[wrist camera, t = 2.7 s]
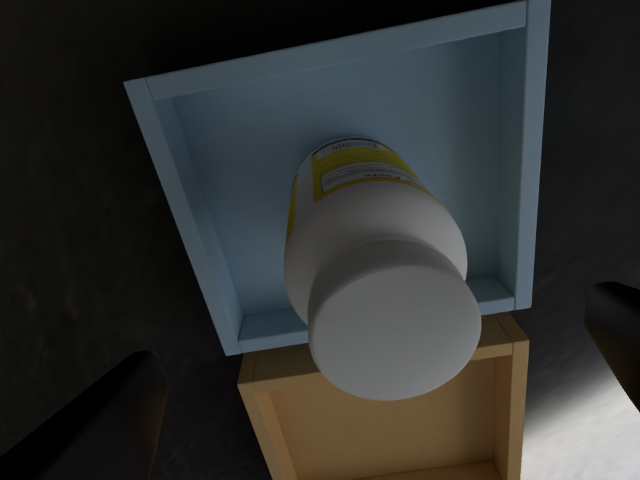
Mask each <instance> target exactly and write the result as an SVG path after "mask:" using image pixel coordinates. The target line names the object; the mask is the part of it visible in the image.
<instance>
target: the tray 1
mask: <svg viewBox="0 0 640 480" xmlns="http://www.w3.org/2000/svg"><path fill="white" fill-rule="evenodd" d="M550 8H551V0H520V1H515V2H510V3H505V4H500V5H496V6H491V7H486V8H481V9H476V10H471V11H466V12H461V13H456V14H452V15H447V16H442V17H437V18H432V19H427V20H422V21H417V22H412V23H408V24H403V25H398V26H393V27H388V28H383V29H378V30H373V31H369V32H364V33H359V34H354V35H349V36H344V37H339V38H334V39H329V40H325V41H320V42H315V43H310V44H305V45H300V46H295V47H290V48H286V49H281V50H276V51H271V52H266V53H261V54H256V55H251V56H246V57H242V58H237V59H232V60H227V61H222V62H217V63H212V64H207V65H203V66H198V67H193V68H188V69H183V70H178V71H173V72H168V73H163V74H159V75H154V76H149V77H144V78H139V79H134V80H129V81H124V82H123V84H124V86H125V89H126V92H127V94H128V97H129V100H130V102H131V105H132V108H133V110H134V113H135V116H136V118H137V121H138V123H139V126H140V129H141V131H142V134H143V137H144V139H145V142H146V145H147V147H148V150H149V153H150V155H151V158H152V161H153V163H154V166H155V169H156V171H157V174H158V177H159V179H160V182H161V185H162V187H163V190H164V193H165V195H166V198H167V201H168V203H169V206H170V209H171V211H172V214H173V216H174V219H175V222H176V224H177V227H178V230H179V232H180V235H181V238H182V240H183V243H184V246H185V248H186V251H187V254H188V256H189V259H190V262H191V264H192V267H193V270H194V272H195V275H196V278H197V280H198V283H199V286H200V288H201V291H202V294H203V296H204V299H205V301H206V304H207V307H208V309H209V312H210V315H211V317H212V320H213V323H214V325H215V328H216V331H217V333H218V336H219V339H220V341H221V344H222V347H223V349H224V352H225V355H226V356H229V355H235V354H241V353H246V352H252V351H259V350H265V349H271V348H278V347H284V346H290V345H297V344H303V343H309V340H308V325H307V324H306V323H305V322H304V321H303V320H302V319H301V318H300V317H299V315H298V314H297V313H296V311H295V309H294V308H293V306H292V304H291V302H290V299H289V297H288V294H287V291H286V287H285V281H284V252H285V243H286V234H287V223H288V213H289V204H290V194H291V188H292V184H293V180H294V177H295V175H296V173H297V171H298V169H299V167H300V165H301V164H302V163H303V161H304V160H305V159H306V158H307V157H308V156H309V155H310V154H311V153H312V152H313V151H314V150H315V149H317V148H318V147H320V146H321V145H323V144H325V143H327V142H329V141H332V140H335V139H339V138H343V137H352V136H355V137H365V138H370V139H373V140H376V141H379V142H381V143H383V144H385V145H386V146H388V147H389V148H391V149H392V150H393V151H394V152H396V153H397V154H398V155H399V156H400V157H401V158H402V159H403V160H404V161H405V163H406V164H407V165H408V166H409V167H410V168H411V169H412V171H413V172H414V173H415V174H416V175H417V176H418V177H419V179H420V180H421V181H422V182H423V183H424V184H425V186H426V187H427V188H428V189H429V190H430V191H431V192H432V194H433V195H434V196H435V197H436V198H437V199H438V200H439V201H440V203H441V204H442V205H443V206H444V207H445V209H446V210H447V211H448V212H449V214H450V215H451V217H452V218H453V220H454V221H455V223H456V224H457V226H458V228H459V230H460V232H461V234H462V237H463V240H464V243H465V246H466V253H467V273H466V279H465V282H466V284H467V286H468V287H469V289H470V290H471V292H472V294H473V296H474V297H475V299H476V301H477V304H478V306H479V310H480V314H481V315H487V314H494V313H500V312H506V311H512V310H513V309H514V310H519V309H525V308H530V307H531V300H532V284H533V269H534V254H535V238H536V223H537V208H538V192H539V177H540V162H541V146H542V131H543V115H544V100H545V85H546V69H547V54H548V39H549V23H550Z"/></svg>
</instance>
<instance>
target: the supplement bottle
mask: <svg viewBox="0 0 640 480" xmlns="http://www.w3.org/2000/svg"><path fill="white" fill-rule="evenodd" d="M466 273H467V253H466V246H465V243H464V240H463V237H462V234H461V232H460V230H459V228H458V226H457V224H456V223H455V221H454V220H453V218H452V217H451V215H450V214H449V212H448V211H447V210H446V209H445V207H444V206H443V205H442V204H441V203H440V201H439V200H438V199H437V198H436V197H435V196H434V195H433V194H432V192H431V191H430V190H429V189H428V188H427V187H426V186H425V184H424V183H423V182H422V181H421V180H420V179H419V177H418V176H417V175H416V174H415V173H414V172H413V171H412V169H411V168H410V167H409V166H408V165H407V164H406V163H405V161H404V160H403V159H402V158H401V157H400V156H399V155H398V154H397V153H396V152H394V151H393V150H392V149H391V148H389V147H388V146H386V145H385V144H383V143H381V142H379V141H376V140H373V139H370V138H365V137H355V136H352V137H343V138H339V139H335V140H332V141H329V142H327V143H325V144H323V145H321V146H320V147H318V148H317V149H315V150H314V151H313V152H312V153H311V154H310V155H309V156H308V157H307V158H306V159H305V160H304V161H303V163H302V164H301V165H300V167H299V169H298V171H297V173H296V175H295V177H294V180H293V184H292V188H291V194H290V204H289V213H288V223H287V234H286V243H285V252H284V281H285V287H286V291H287V294H288V297H289V299H290V302H291V304H292V306H293V308H294V309H295V311H296V313H297V314H298V315H299V317H300V318H301V319H302V320H303V321H304V322H305V323H306V324H307V325H308V340H309V348H310V352H311V355H312V358H313V360H314V363H315V364H316V366H317V368H318V369H319V371H320V372H321V373H322V374H323V375H324V377H325V378H326V379H328V380H329V381H330V382H331V383H332V384H333V385H334V386H336V387H338V388H339V389H341V390H343V391H345V392H347V393H349V394H352V395H355V396H358V397H361V398H365V399H371V400H380V401H391V400H401V399H407V398H411V397H415V396H419V395H422V394H425V393H427V392H430V391H432V390H434V389H436V388H438V387H440V386H441V385H443V384H444V383H446V382H448V381H449V380H450V379H452V378H453V377H454V376H456V375H457V374H458V373H459V372H460V371H461V370H462V369H463V368H464V367H465V365H466V364H467V363H468V361H469V360H470V358H471V357H472V355H473V353H474V351H475V349H476V347H477V345H478V342H479V339H480V334H481V314H480V310H479V306H478V304H477V301H476V299H475V297H474V296H473V294H472V292H471V290H470V289H469V287H468V286H467V284H466V282H465V279H466Z"/></svg>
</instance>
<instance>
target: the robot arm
mask: <svg viewBox="0 0 640 480" xmlns="http://www.w3.org/2000/svg"><path fill="white" fill-rule="evenodd" d="M584 324H585V327H586V329H587V331H588V333H589V334H590V336H591V338H592V339H593V341H594V342H595V344H596V346H597V347H598V349H599V351H600V352H601V354H602V355H603V357H604V359H605V360H606V362H607V364H608V365H609V367H610V368H611V370H612V372H613V373H614V375H615V376H616V378H617V380H618V381H619V383H620V385H621V386H622V388H623V389H624V391H625V392H626V394H627V395H628V397H629V398H630V400H631V401H632V402H633V404H634V405H635V406H636V408H637V409H638V411H639V412H640V290H638V289H635V288H632V287H629V286H626V285H623V284H620V283H617V282H604V283H597V284H593V285H591V286H590V287H589V289H588V292H587V298H586V305H585V311H584ZM168 388H169V383H168V378H167V375H166V373H165V371H164V369H163V367H162V364H161V362H160V360H159V358H158V356H157V354H156V353H155V352H154V351H152V350H146V351H139V352H134V353H132V354H131V355H129V356H128V357H127V358H126V359H124V360H123V361H122V362H120V363H119V364H118V365H117V366H115V367H114V368H113V369H112V370H110V371H109V372H108V373H106V374H105V375H104V376H103V377H101V378H100V379H99V380H98V381H96V382H95V383H94V384H92V385H91V386H90V387H89V388H87V389H86V390H85V391H84V392H82V393H81V394H80V395H78V396H77V397H76V398H75V399H73V400H72V401H71V402H70V403H68V404H67V405H66V406H64V407H63V408H62V409H61V410H59V411H58V412H57V413H56V414H54V415H53V416H52V417H51V418H49V419H48V420H47V421H45V422H44V423H43V424H42V425H40V426H39V427H38V428H37V429H35V430H34V431H33V432H31V433H30V434H29V435H28V436H26V437H25V438H24V439H23V440H21V441H20V442H19V443H17V444H16V445H15V446H14V447H12V448H11V449H10V450H9V451H7V452H6V453H5V454H3V455H2V456H1V457H0V480H148V479H149V475H150V472H151V468H152V465H153V461H154V458H155V453H156V449H157V444H158V439H159V434H160V429H161V424H162V419H163V414H164V409H165V404H166V399H167V394H168Z"/></svg>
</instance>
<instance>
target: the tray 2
mask: <svg viewBox="0 0 640 480" xmlns="http://www.w3.org/2000/svg"><path fill="white" fill-rule="evenodd" d="M528 351H529V339H528V338H527V336H526V335H525V334H524V332H523V331H522V330H521V328H520V327H519V326H518V324H517V323H516V322H515V320H514V319H513V318H512V316H511V315H510V314H509V312H508V311H506V312H500V313H494V314H487V315H481V334H480V339H479V342H478V345H477V347H476V349H475V351H474V353H473V355H472V357H471V358H470V360H469V361H468V363H467V364H466V365H465V367H464V368H463V369H462V370H461V371H460V372H459V373H458V374H457V375H456V376H454V377H453V378H452V379H450V380H449V381H448V382H446V383H444V384H443V385H441V386H440V387H438V388H436V389H434V390H432V391H430V392H427V393H425V394H422V395H419V396H415V397H411V398H407V399H401V400H391V401H380V400H371V399H365V398H361V397H358V396H355V395H352V394H349V393H347V392H345V391H343V390H341V389H339V388H338V387H336V386H334V385H333V384H332V383H331V382H330V381H329V380H328V379H326V378H325V377H324V375H323V374H322V373H321V372H320V371H319V369H318V368H317V366H316V364H315V363H314V360H313V358H312V355H311V352H310V348H309V343H303V344H297V345H290V346H284V347H278V348H271V349H265V350H259V351H252V352H246V353H244V354H243V360H242V364H241V369H240V373H239V378H238V382H237V386H238V389H239V391H240V394H241V397H242V399H243V402H244V405H245V407H246V410H247V413H248V415H249V418H250V421H251V423H252V426H253V429H254V431H255V434H256V437H257V439H258V442H259V444H260V447H261V450H262V452H263V455H264V458H265V460H266V463H267V466H268V468H269V471H270V474H271V476H272V479H273V480H520V473H521V458H522V443H523V428H524V412H525V397H526V382H527V367H528Z"/></svg>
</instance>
